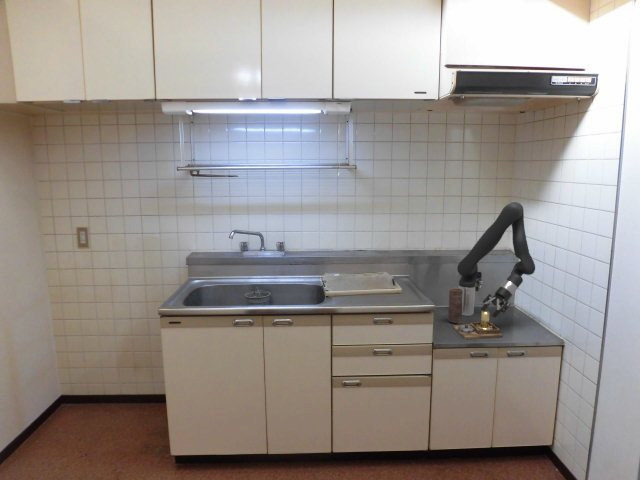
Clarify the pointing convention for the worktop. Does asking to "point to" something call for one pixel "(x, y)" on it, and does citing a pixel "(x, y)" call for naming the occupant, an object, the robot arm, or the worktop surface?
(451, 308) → the candle
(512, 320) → the worktop surface
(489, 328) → the gear shaft
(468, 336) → the gear board
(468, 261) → the robot arm
